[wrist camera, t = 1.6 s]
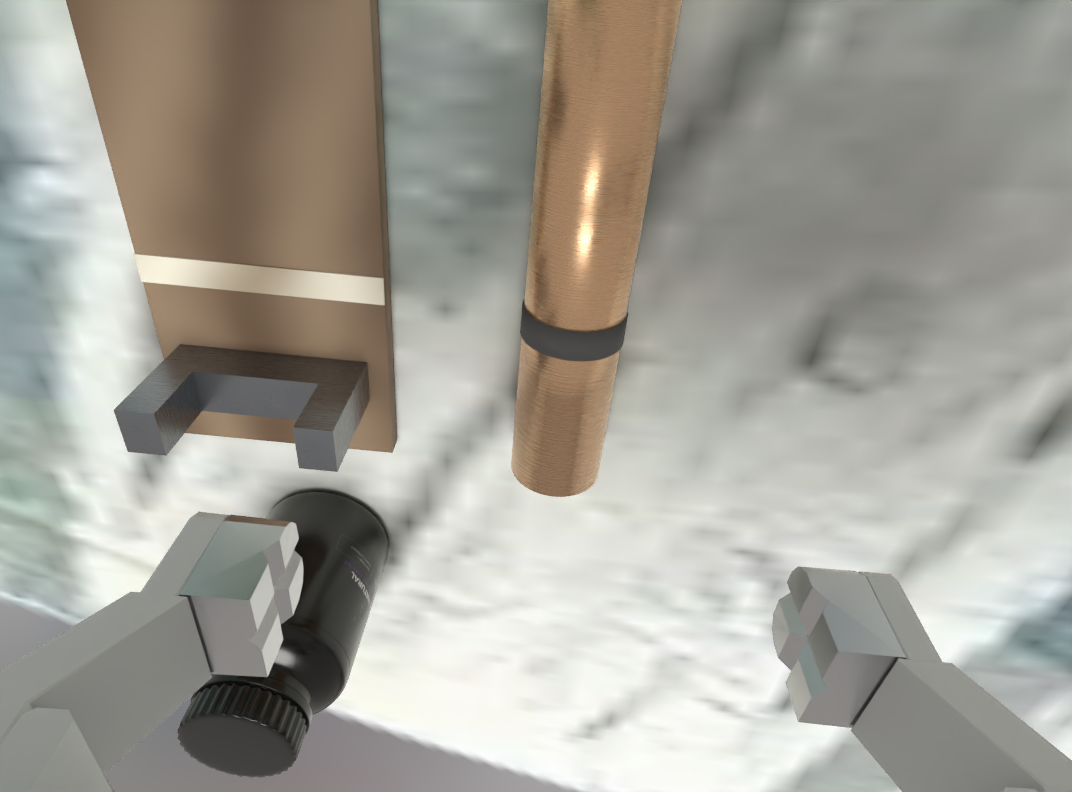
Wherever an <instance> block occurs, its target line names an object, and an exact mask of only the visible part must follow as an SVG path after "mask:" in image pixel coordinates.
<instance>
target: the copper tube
mask: <svg viewBox="0 0 1072 792" xmlns="http://www.w3.org/2000/svg"><path fill="white" fill-rule="evenodd" d="M681 5H682V0H548V13H547V25H546V38H545V50H544V63H543V75H542V88H541V100H540V113H539V125H538V137H537V150H536V162H535V175H534V187H533V200H532V212H531V225H530V237H529V250H528V262H527V275H526V287H525V298H524V300H523V305H522V318H521V331H520V333H521V336H522V337H521V349H520V362H519V374H518V387H517V399H516V412H515V424H514V436H513V449H512V461H511V467H512V471H513V474H514V476H515V477H516V478H517V480H518V481H519V482H520V483H521V484H522V485H524V486H525V487H527V488H528V489H530V490H532V491H534V492H537V493H540V494H543V495H548V496H557V497H564V496H571V495H576V494H579V493H581V492H584V491H585V490H587V489H589V488H590V487H591V486H592V485H593V484H594V483H595V481H596V479H597V476H598V471H599V465H600V460H601V454H602V449H603V443H604V437H605V432H606V426H607V421H608V415H609V409H610V404H611V398H612V393H613V387H614V381H615V376H616V370H617V364H618V359H619V353H620V348H621V347H622V344H623V340H624V334H625V328H626V323H627V317H628V312H627V308H628V303H629V297H630V292H631V286H632V280H633V275H634V269H635V263H636V258H637V252H638V247H639V241H640V235H641V230H642V224H643V219H644V213H645V207H646V202H647V196H648V191H649V185H650V179H651V174H652V168H653V162H654V157H655V151H656V146H657V140H658V134H659V129H660V123H661V118H662V112H663V106H664V101H665V95H666V90H667V84H668V78H669V73H670V67H671V61H672V56H673V50H674V45H675V39H676V33H677V28H678V22H679V17H680V11H681Z"/></svg>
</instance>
